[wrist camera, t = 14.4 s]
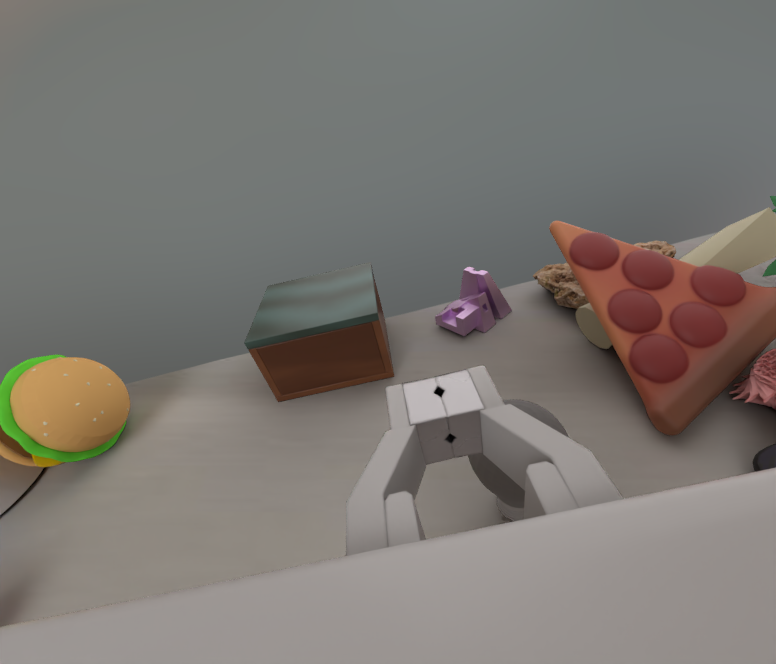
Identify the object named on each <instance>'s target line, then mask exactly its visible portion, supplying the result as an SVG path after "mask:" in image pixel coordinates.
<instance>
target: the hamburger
mask: <svg viewBox="0 0 776 664" xmlns="http://www.w3.org/2000/svg"><path fill="white" fill-rule="evenodd" d="M129 410H130V398H129V394H128V391H127V389H126V387H125V385H124V383H123V381H122V380H121V379H120V378H119V377H118V376H117V375H116V374H115V373H114V372H113V371H112V370H110V369H109V368H108V367H107V366H104V365H102V364H100V363H98V362H96V361H93V360H89V359H86V358H76V357H65V356H62V355H50V356H43V357H38V358H33V359H29V360H26V361H24V362H22V363H20V364H19V365H17V366H16V367H14V368H13V369H11V370H10V371H9V372H8V373H7V374H6V376H5V377H4V379H3V381H2V383H1V385H0V455H1V456H2V457H4V458H6V459H8V460H10V461H12V462H15V463H18V464H22V465H27V466H35V467H50V466H54V465H59V464H62V463H65V462H75V461H80V460H84V459H88V458H92V457H96V456H98V455H100V454H102V453H103V452H105V451H106V450H108V449H109V448H111V447H112V446H113V445H114V444H115V443H116V441H117V439H118V438H119V436H120V434H121V433H122V431H123V429H124V428H125V426H126V419H127V417H128V414H129Z"/></svg>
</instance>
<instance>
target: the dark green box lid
mask: <svg viewBox="0 0 776 664" xmlns="http://www.w3.org/2000/svg"><path fill="white" fill-rule="evenodd" d="M376 320H379V314H378V307H377V300H376V293H375V286H374V279H373V272H372V266H371V262H369V263H364V264H360V265H356V266H352V267H347V268H343V269H339V270H334V271H330V272H326V273H322V274H317V275H313V276H309V277H305V278H300V279H296V280H292V281H287V282H283V283H279V284H274V285H270V286H268V287H267V290H266V293H265V294H264V297H263V300H262V302H261V304H260V306H259V309H258V311H257V314H256V316H255V318H254V321H253V323H252V326H251V328H250V330H249V333H248V335H247V338H246V340H245V342H244V343H245V345H246V347H247V348H248V349H253V348H257V347H262V346H266V345H270V344H275V343H279V342H284V341H288V340H292V339H297V338H301V337H306V336H310V335H315V334H319V333H323V332H328V331H332V330H337V329H341V328H346V327H350V326H354V325H359V324H363V323H368V322H372V321H376Z"/></svg>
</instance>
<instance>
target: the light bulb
mask: <svg viewBox="0 0 776 664" xmlns="http://www.w3.org/2000/svg"><path fill="white" fill-rule="evenodd" d="M503 402H504V404H505V405H508V404H511V405H513V406H515V407H516V408H518V409H520V410H522V411H523V412H525V413H527V414H529V415H530V416H532V417H534V418H535V419H537V420H539V421H541V422H542V423H544V424H546V425H548V426H549V427H551V428H553V429H554V430H556V431H558V432H560V433H561V434H563V435H565V436H567V437H568V435H567V432H566V430H565V429H564V427H563V426H562V425H561V423H560V422H559V421H558V420H557V419H556V418H555V417H554V416H553V415H552V414H551V413H550V412H549V411H547V410H546V409H544V408H543V407H541V406H539V405H537V404H534V403H531V402H529V401H524V400H513V399H512V400H504V401H503ZM568 438H569V437H568ZM468 457H469V460H470V463H471V466H472V468H473V470H474V472H475V474H476V475H477V477H478V478H479V480H480V481H481V482H482V483H483V485H484V486H485V487H486V488H487V489H489V490H490V491H491V492H493V493H494V494H495V495H497V505H498V508H499V510H500V511H501V513H502V514H503V515H504V516H506V517H507V518H509V519H511V520H513V521H518V520H523V519H524V501H525V490H523V489H522V488H521V487H520V486H519V485H518V484H517V483H515V482H514V481H513V480H512V479H511V478H510V477H509V476H508V475H506V474H505V473H504V472H503V471H502V470H501V469H500V468H498V467H497V466H496V465H495V464H494V463H493V462H492V461H490V460H489V459H488V458H487V457H486V456H485V455H484V454H483V453H478V454H473V455H468Z"/></svg>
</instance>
